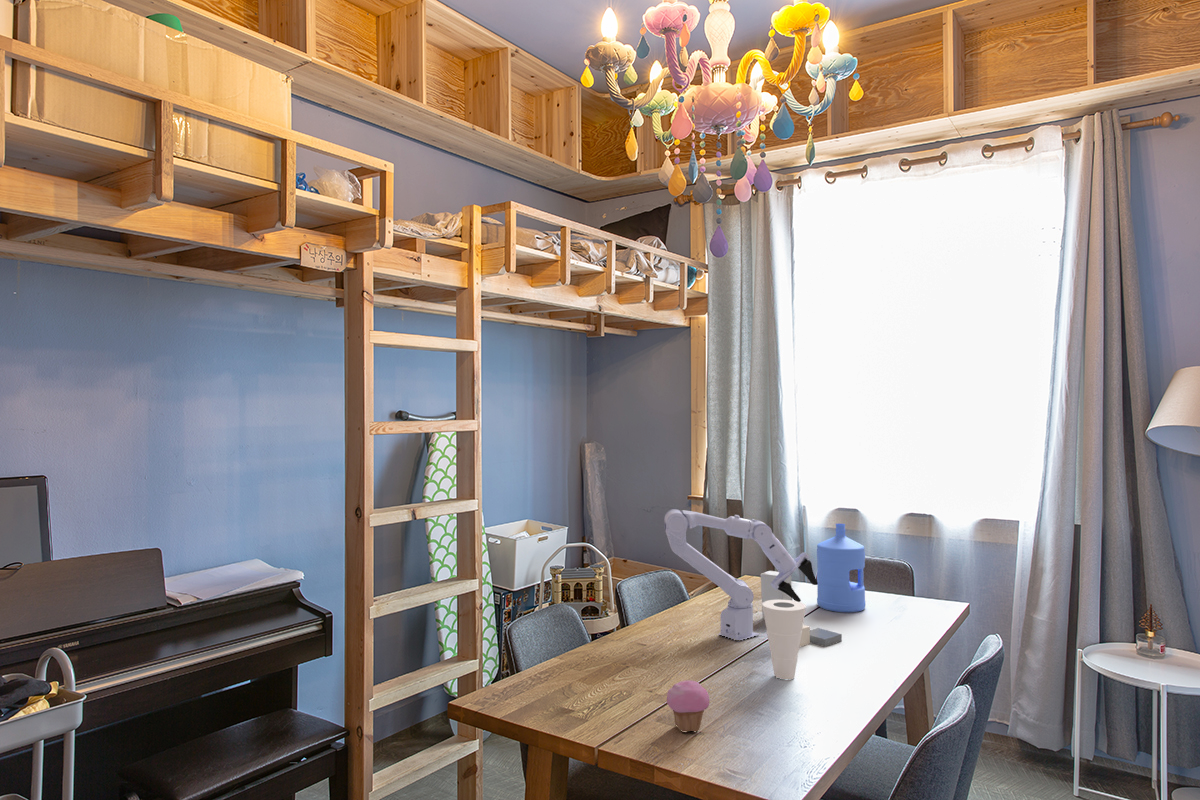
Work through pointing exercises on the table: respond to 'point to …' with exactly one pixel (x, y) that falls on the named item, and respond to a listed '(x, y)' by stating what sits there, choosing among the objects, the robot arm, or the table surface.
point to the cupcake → (688, 704)
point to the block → (805, 636)
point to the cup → (784, 634)
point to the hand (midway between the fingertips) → (807, 592)
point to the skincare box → (769, 591)
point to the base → (824, 637)
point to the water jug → (840, 573)
